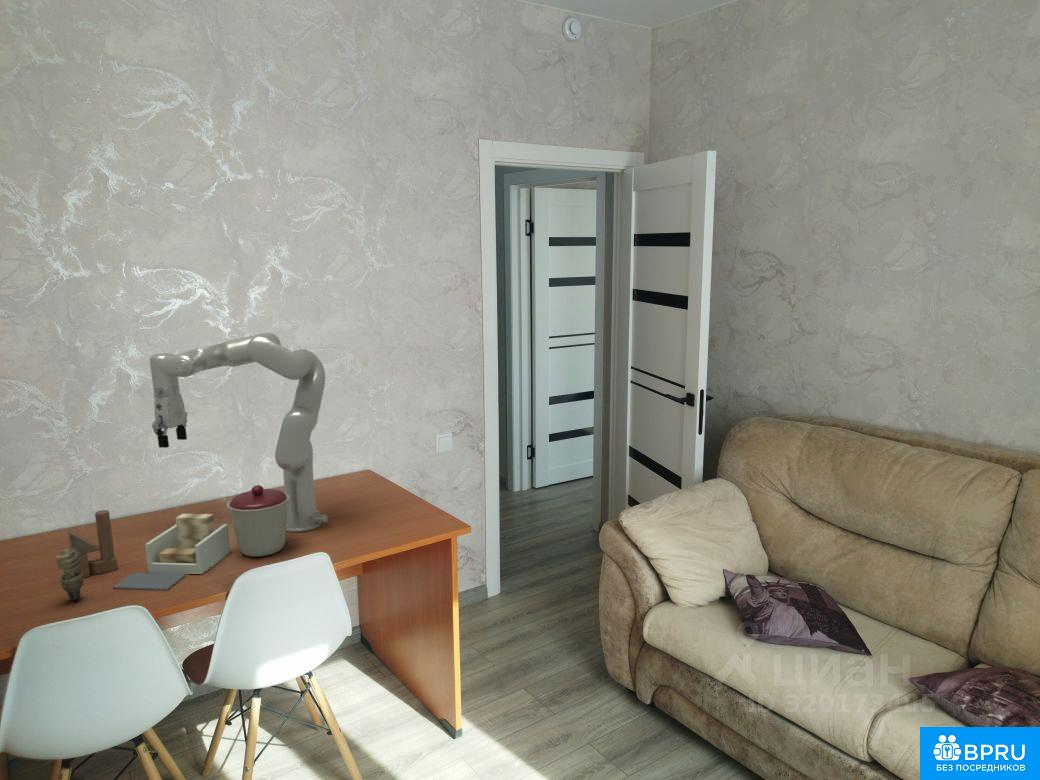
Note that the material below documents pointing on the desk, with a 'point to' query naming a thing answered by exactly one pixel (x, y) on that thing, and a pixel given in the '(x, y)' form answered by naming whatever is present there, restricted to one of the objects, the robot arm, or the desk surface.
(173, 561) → the oak offcut
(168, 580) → the slate pad
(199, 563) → the tray
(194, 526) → the birch block
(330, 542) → the desk surface
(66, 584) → the light bulb
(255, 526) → the canister
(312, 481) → the robot arm
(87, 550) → the brown wooden angled piece
